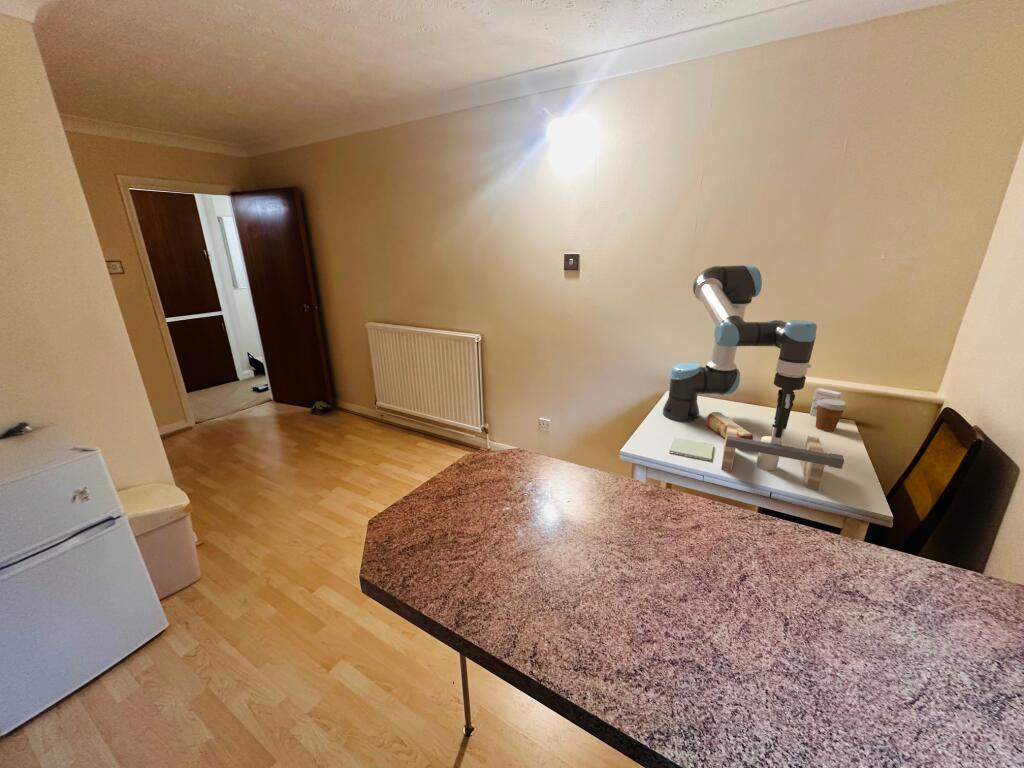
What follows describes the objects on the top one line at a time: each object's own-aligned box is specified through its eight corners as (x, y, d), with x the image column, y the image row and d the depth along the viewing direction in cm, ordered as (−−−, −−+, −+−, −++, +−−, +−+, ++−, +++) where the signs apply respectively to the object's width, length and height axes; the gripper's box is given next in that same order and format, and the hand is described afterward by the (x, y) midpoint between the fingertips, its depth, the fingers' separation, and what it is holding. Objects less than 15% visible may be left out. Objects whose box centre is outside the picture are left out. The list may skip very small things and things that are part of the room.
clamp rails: (723, 448, 150) (728, 422, 147) (811, 465, 138) (818, 437, 134) (721, 469, 137) (726, 441, 133) (818, 489, 124) (826, 459, 121)
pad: (674, 439, 158) (674, 436, 158) (713, 446, 152) (713, 444, 151) (669, 452, 148) (669, 450, 148) (710, 461, 142) (711, 458, 142)
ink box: (836, 417, 173) (843, 392, 169) (832, 420, 170) (839, 395, 167) (813, 411, 180) (819, 387, 176) (809, 414, 177) (815, 389, 173)
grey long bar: (725, 442, 132) (727, 434, 131) (839, 464, 118) (842, 455, 117) (725, 446, 130) (726, 438, 129) (841, 468, 116) (844, 459, 115)
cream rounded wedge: (756, 460, 142) (761, 434, 139) (776, 464, 139) (781, 438, 136) (756, 468, 137) (761, 442, 134) (777, 472, 134) (783, 445, 131)
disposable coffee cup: (814, 431, 162) (821, 404, 158) (808, 422, 170) (814, 395, 166) (843, 435, 158) (851, 407, 154) (835, 425, 167) (842, 398, 163)
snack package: (753, 449, 150) (756, 432, 148) (736, 450, 149) (739, 434, 147) (719, 425, 170) (721, 410, 168) (704, 426, 169) (706, 411, 167)
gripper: (809, 382, 111) (791, 457, 119) (803, 369, 122) (787, 439, 129) (777, 378, 114) (762, 451, 122) (774, 366, 125) (760, 434, 133)
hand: (775, 445), depth 126 cm, fingers closed
